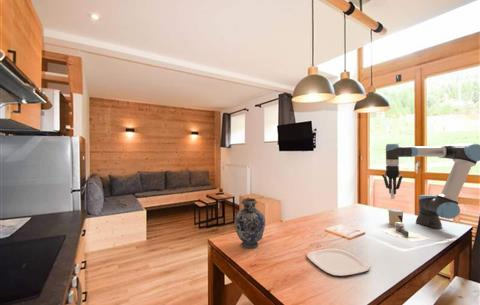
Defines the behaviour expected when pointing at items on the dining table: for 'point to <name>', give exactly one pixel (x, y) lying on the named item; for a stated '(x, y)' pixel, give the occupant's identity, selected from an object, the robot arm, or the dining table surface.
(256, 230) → the decorative vase
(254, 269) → the dining table surface
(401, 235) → the gauge board
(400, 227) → the dark grey lever
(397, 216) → the coffee cup
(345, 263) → the plate
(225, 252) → the dining table surface
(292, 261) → the dining table surface
